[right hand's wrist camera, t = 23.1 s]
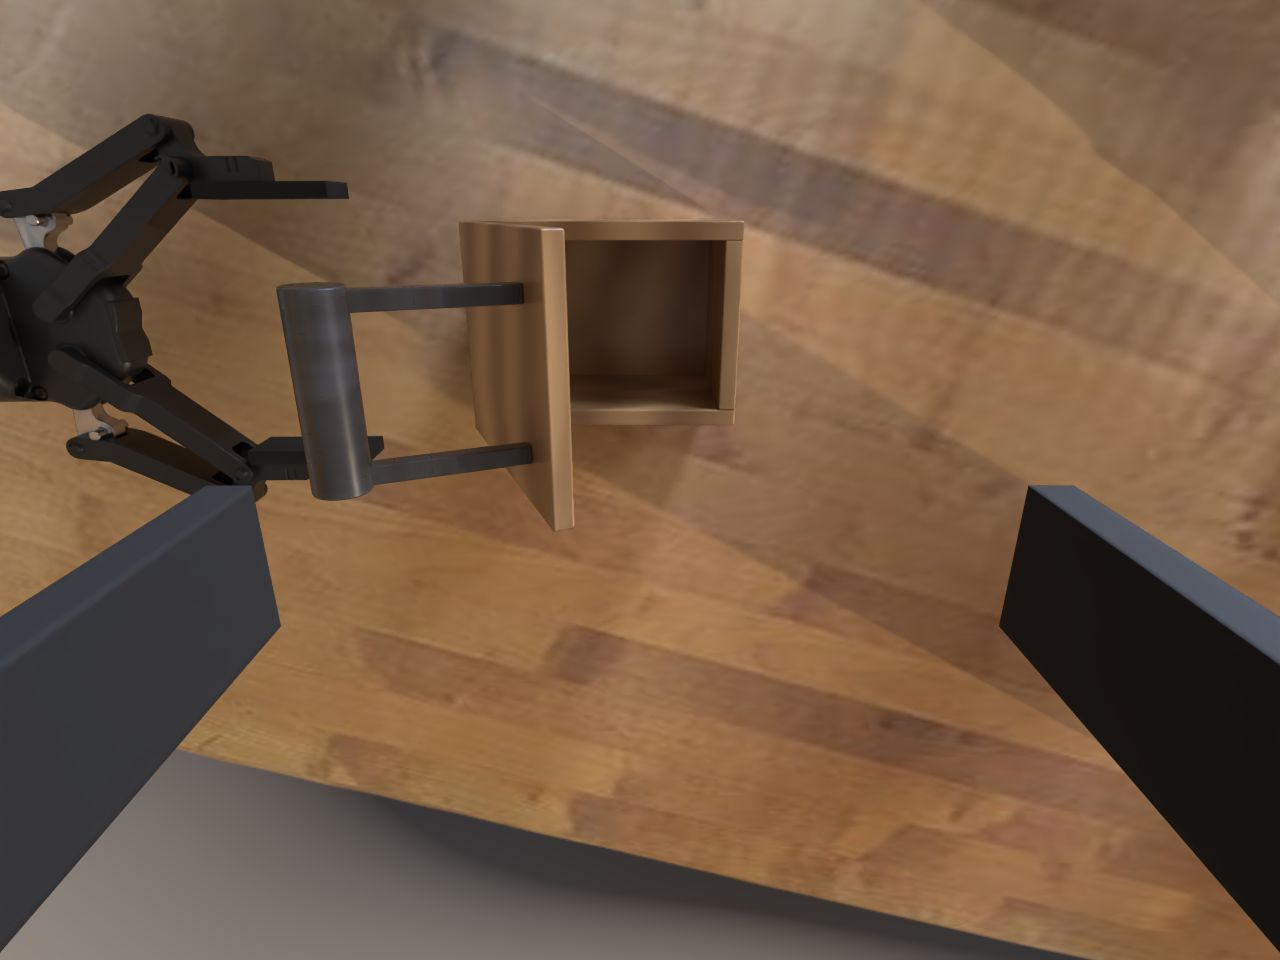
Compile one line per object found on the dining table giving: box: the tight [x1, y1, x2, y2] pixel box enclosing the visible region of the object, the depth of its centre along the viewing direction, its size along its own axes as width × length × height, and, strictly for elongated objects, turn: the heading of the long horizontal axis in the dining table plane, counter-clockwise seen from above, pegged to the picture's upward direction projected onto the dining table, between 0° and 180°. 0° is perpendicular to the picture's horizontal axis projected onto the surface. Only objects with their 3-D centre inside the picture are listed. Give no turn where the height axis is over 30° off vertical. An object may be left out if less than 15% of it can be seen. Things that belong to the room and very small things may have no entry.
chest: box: [476, 218, 744, 425], centre depth 40 cm, size 13×10×9 cm
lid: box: [276, 221, 574, 531], centre depth 28 cm, size 14×10×8 cm
